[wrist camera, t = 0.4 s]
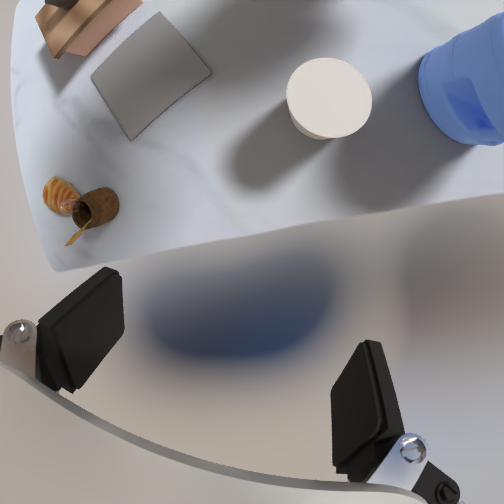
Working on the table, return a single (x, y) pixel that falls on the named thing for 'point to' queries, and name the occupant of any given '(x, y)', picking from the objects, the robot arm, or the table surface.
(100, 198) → the utensil holder
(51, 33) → the lid
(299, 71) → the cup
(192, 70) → the mat
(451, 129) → the water jug
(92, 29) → the pink open box
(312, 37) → the table surface
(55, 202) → the pastry
